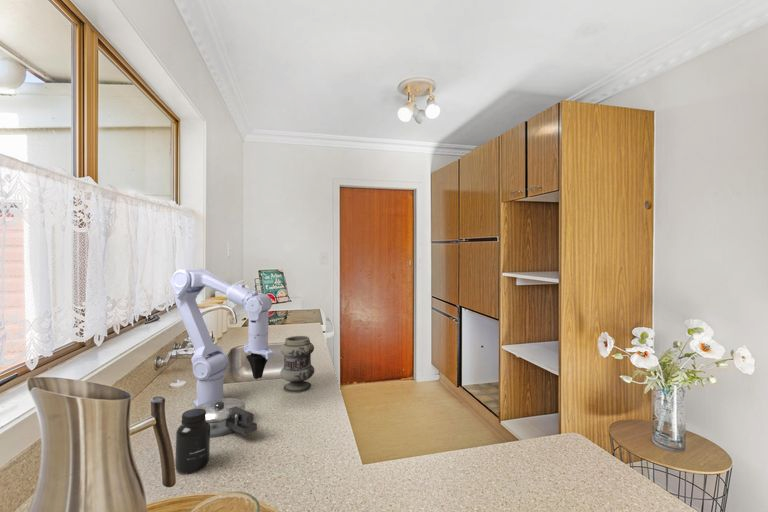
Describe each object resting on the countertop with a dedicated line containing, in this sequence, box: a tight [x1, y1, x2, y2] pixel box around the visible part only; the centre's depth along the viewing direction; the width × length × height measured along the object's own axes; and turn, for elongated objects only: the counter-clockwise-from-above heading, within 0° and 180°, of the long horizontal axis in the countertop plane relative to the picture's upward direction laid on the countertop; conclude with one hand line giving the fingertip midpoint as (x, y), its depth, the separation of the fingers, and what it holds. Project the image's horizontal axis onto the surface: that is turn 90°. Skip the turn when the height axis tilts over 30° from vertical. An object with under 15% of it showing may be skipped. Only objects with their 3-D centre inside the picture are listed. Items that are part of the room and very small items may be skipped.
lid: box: [193, 397, 254, 424], centre depth 96 cm, size 21×14×2 cm, turn 55°
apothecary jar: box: [279, 335, 315, 394], centre depth 127 cm, size 12×12×18 cm
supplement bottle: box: [174, 408, 211, 475], centre depth 79 cm, size 7×7×12 cm
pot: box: [209, 414, 258, 438], centre depth 96 cm, size 21×13×7 cm, turn 56°
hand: (257, 377), depth 108 cm, fingers closed
